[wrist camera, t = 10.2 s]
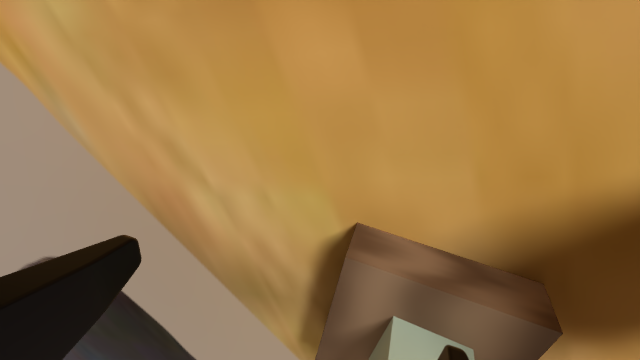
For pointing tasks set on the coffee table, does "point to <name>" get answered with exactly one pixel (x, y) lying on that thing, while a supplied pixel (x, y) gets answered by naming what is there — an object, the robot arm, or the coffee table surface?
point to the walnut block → (433, 301)
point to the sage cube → (412, 343)
